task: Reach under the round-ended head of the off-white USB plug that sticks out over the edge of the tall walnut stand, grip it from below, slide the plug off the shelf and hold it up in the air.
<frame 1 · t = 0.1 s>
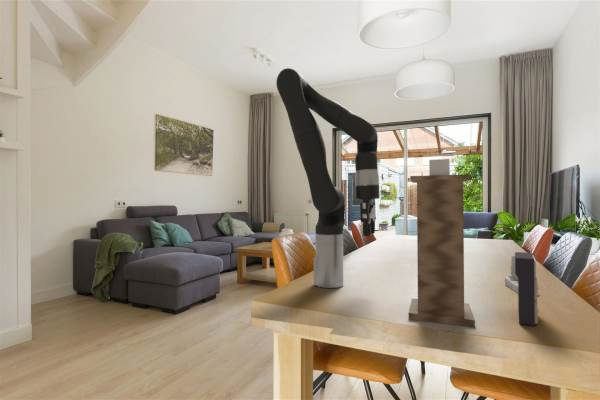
hand: (369, 234, 109), 17 cm above the table, tool pointing down, fingers open, 8 cm apart
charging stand: (440, 313, 85), on the table
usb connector: (438, 178, 91), point 34 cm above the table, touching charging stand
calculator: (526, 319, 81), on the table
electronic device: (519, 290, 108), on the table
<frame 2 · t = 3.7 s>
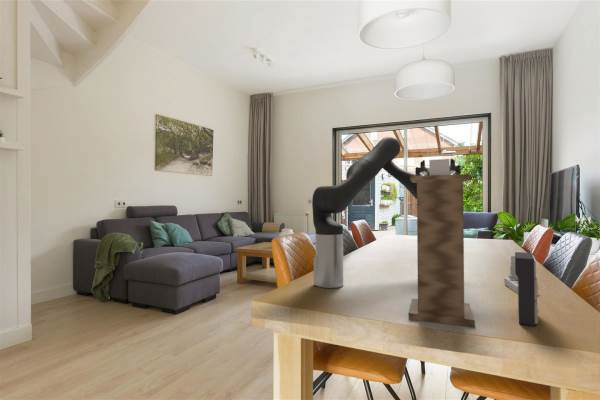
hand: (437, 161, 111), 41 cm above the table, tool pointing upward, fingers open, 8 cm apart
nothing on the table moved.
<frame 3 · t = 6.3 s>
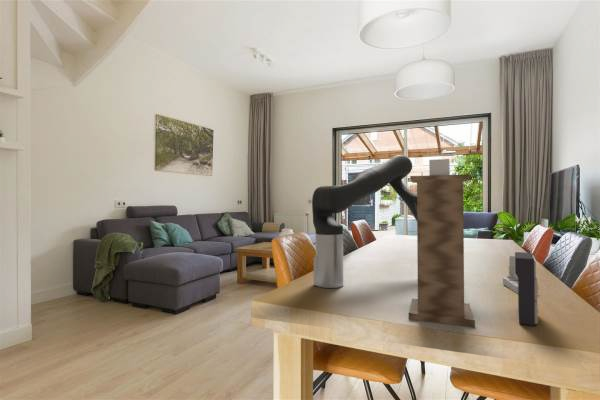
hand: (437, 192, 104), 31 cm above the table, tool pointing upward, fingers open, 8 cm apart
nothing on the table moved.
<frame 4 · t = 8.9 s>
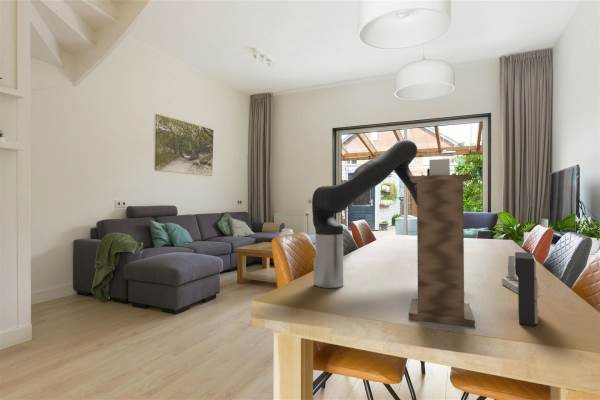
hand: (438, 169, 94), 37 cm above the table, tool pointing upward, fingers closed on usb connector, 3 cm apart
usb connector: (438, 178, 91), point 34 cm above the table, touching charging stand, gripper
everything else where it was.
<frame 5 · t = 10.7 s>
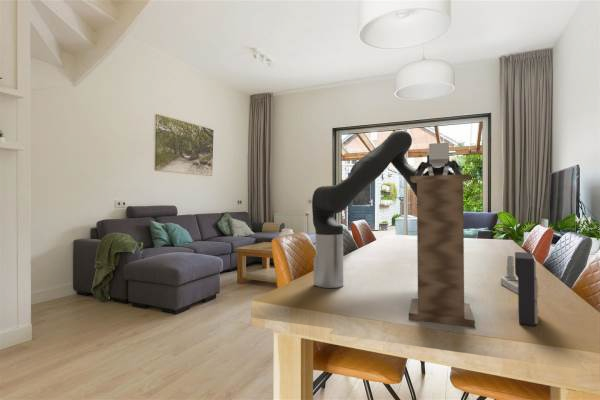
hand: (438, 155, 95), 41 cm above the table, tool pointing upward, fingers closed on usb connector, 3 cm apart
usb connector: (438, 163, 91), point 38 cm above the table, touching gripper
everything else where it was.
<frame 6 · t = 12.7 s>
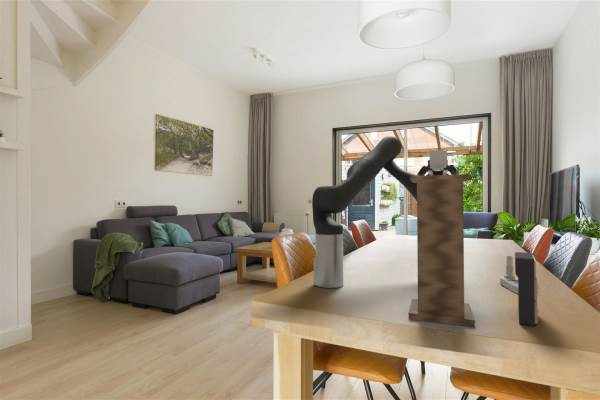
hand: (437, 160, 106), 41 cm above the table, tool pointing upward, fingers closed on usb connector, 3 cm apart
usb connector: (437, 168, 103), point 38 cm above the table, touching gripper
everything else where it was.
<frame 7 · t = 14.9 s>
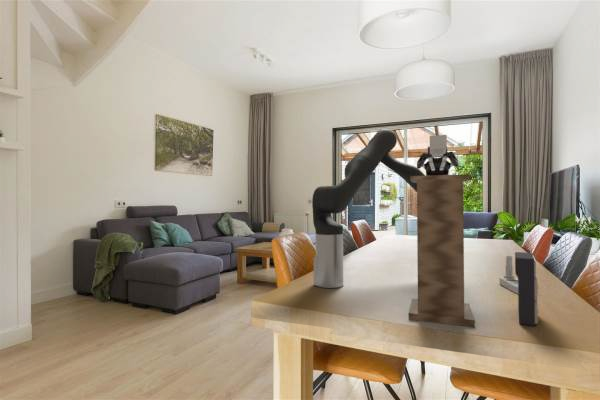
hand: (437, 146, 109), 45 cm above the table, tool pointing upward, fingers closed on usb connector, 3 cm apart
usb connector: (437, 154, 105), point 43 cm above the table, touching gripper
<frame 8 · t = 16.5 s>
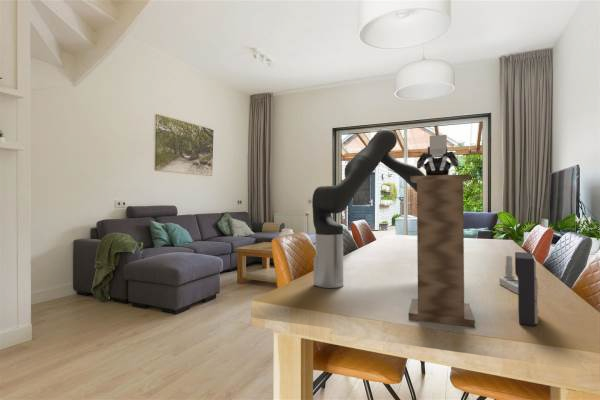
hand: (437, 146, 109), 45 cm above the table, tool pointing upward, fingers closed on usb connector, 3 cm apart
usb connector: (437, 154, 105), point 43 cm above the table, touching gripper
at the end: the gripper is holding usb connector; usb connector point 42.6 cm above the table; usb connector touching gripper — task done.
